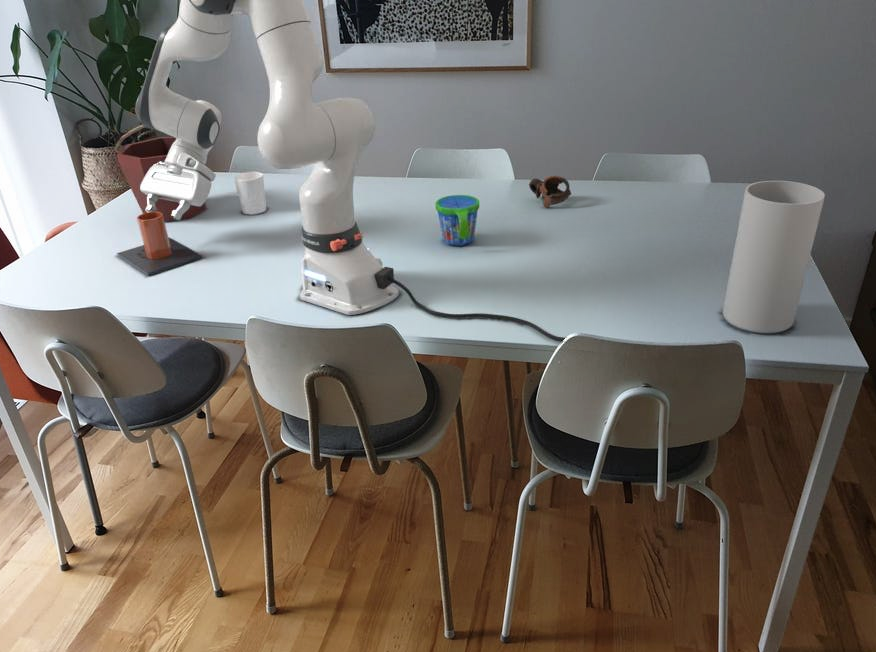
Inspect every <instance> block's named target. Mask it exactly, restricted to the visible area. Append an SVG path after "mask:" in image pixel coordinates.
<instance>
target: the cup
mask: <svg viewBox="0 0 876 652" xmlns="http://www.w3.org/2000/svg"><path fill="white" fill-rule="evenodd" d="M136 222H137V225H138V229H139V233H140V236H141V241H142V244H143V245H144V248H145V252H146V255H147V258H149V259H162V258H165V257H168V256H170V255H171V254H172V251H171V246H170V242H169V238H170V237H169V234H168V230H167V226H166V222H164V217H163V213H161V212H148V213H144V214H143V213H140V214H138V216H136ZM168 237H169V238H168Z"/></svg>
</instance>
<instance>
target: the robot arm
mask: <svg viewBox="0 0 876 652" xmlns="http://www.w3.org/2000/svg"><path fill="white" fill-rule="evenodd" d="M237 14H241V15H246V16H247V18H248V20H249V22H250V24H251V27H252V32H253V34H254V37H255V40H256V43H257V46H258V49H259V53H260V55H261V58H262V61H263V65H264V68H265V72H266V75H267V78H268V85H269V101H268V107H267V111H266V114H265V116H264V118H263V120H262V121H261V122H260V124H259V127H258V130H257V137H256V138H257V140H256V141H257V146H258V150H259V153H260V155H261V156H262V158H263V160H264V161H265V162H266V163H267V164H268V165H269V166H271V167H272V168H274V169H276V170H294V169H302V168H304V167H308V166H311V165H313V169H312V171H311V173H310V174H309V176H308V177H307V178H306V180H305V181H304V183H302V185H301V187H300V189H299V191H298V201H299V208H300V215H301V222H302V226H301V229H300V230H301V231H300V232H301V235H300V236H301V240H302V245H303V246H304V251H303V256H302V259H301V278H302V290H301V291H300V293H299V300H300V301H304V302H307V303H309V304H313V305H316V306H319V307H322V308H324V309H328V310H332V311H334V312H337V313H339V314H343V315H347V316H354V315H360V314H361V315H362V314H365V313H368V312H371V311H373V310H376V309H379V308H381V307H383V306H385V305H387V304H389V303H391V302H393V301H394V300H395V299H397V297H398V296H399V294H400V292H399V289H398V288H397V287H399V288H401V289H402V290H403V291H404V292H405V293H406V294H407V296H408V297H409V298H410V300H411V302H412V303H413V304H414V305H415V306H417V307H418V309H420V310H422V311H423V312H426V313H428V314H430V315H435V316H438V317H444V318H449V319H450V318H451V319H466V318H490V319H498V320H507V321H512V322H516V323H519V324H523V325H526V326H529V327H530V328H533V329H534V330H536V331H537V332H538V333H540V334H542V335H543V336H545V337H547V338H549V339H552V340H555V341H557V342H564V341H563V340H564V339H565V338H566V337H564V336H557V335H554V334H551V333H549V332H548V331H546V330H544V329H542V328H541V327H539V325H537V324H535V323H532V322H531V321H528V320H526V319H523V318H519V317H514V316H510V315H503V314H493V313H482V312H481V313H479V312H477V313H475V312H474V313H446V312H440V311H435V310H431V309H429V308H427V307H425V306H424V305H422V304H421V303H420V302H419V301H418V300H416V298H415V297H414V295H413V294H412V292H411V290H409V289H408V288H407V286H405V285H404V284H403V283H401V282H400V281H398V280H396V279H395V273H394V272H395V271H394V267H390V266H389V267H388V266H384V267H383V261H382V259H381V258H380V257H375V256H374V254H372V252H371V251H370V249H369V248H368V247H367V246H366V245H365V244H364V242H363V238H365V236H364V234H365V233H364V232H363V231H361V230H360V227H359V225H358V222H357V221H356V220H355V206H354V183H355V176H356V172H357V169H358V165H359V163H360V160H361V157H362V155H363V153H364V151H365V150H366V148H367V147H368V145H370V144H371V142H372V140H373V138H374V135H375V131H376V130H375V129H376V122H375V117H374V114H373V112H372V110H371V108H370V107H369V106H368V104H367V103H366V102H365V101H363V99H361V98H355V97H336V98H332V99H327V100H323V101H319V102H314V99H313V94H312V90H313V89H312V88H313V83H315V81H316V80H317V79H318V78H319V77H320V75H321V73H322V71H323V68H324V58H323V54H322V52H321V48H320V46H319V43H318V39H317V36H316V33H315V30H314V28H313V24H312V21H311V18H310V16H309V12H308V10H307V8H306V6H305V3H304V0H180V3H179V10H178V16H177V19H176V21H175V23H173V24H168V25H166V26H165V27H164V28H163V30H161V32H160V34H159V35H158V38H157V40H156V43H155V47H154V49H153V52H152V56H151V59H150V63H149V65H148V69H147V72H146V75H145V79H144V81H143V85H142V88H141V90H140V92H139V95H138V96H137V100H136V102H135V107H134V112H135V115H136V117H137V119H138V120H139V122H140V123H141V124H140V125H143V126H144V127H147V129H151V130H154V131H157V132H161V133H163V134H166V135H168V136H169V137H175V138H177V139H176V140H175V142H174V143H173V144H172V146H171V148H170V150H169V153H168V155H167V157H166V159H165V162H162V161H159V162H158V163H156V164H154V165H153V166H152V167H151V168H150V169H149V170H148V172H147V174H146V175H145V177H144V179H143V181H142V183H141V185H140V190H141V191H142V192H143V193H145V194H146V195H148V196H147V204H148V205H147V207H146V212H155V211H156V209H157V208H155V202H157V200H158V198H160V199H165V200H170V201H175V202H179V204H180V206H179V207H178V208H177V209H176V210H173V212H172V214H171V217H172V218H174V219H177V220H176V221H181V220H180V219H181V217H182V214H184V213H185V212H186V211H187V210H188V209H189V207H190V205H194V206H199V207H200V206H201V205H203V204H204V203H205V201H207V200H208V196H209V193H210V191H211V189H212V182H214V181H215V180H216V177H217V173H215V172H214V171H213V170H212V169H210V168H209V167H208V166H207V165H206V163H207V160H208V154H209V152H210V151H211V150H212V149H213V147H214V145H215V143H216V141H217V139H218V136H219V134H220V130H221V123H222V120H223V119H222V112H221V111H220V109H218V107H216V106H215V105H214V104H212V103H211V102H209V101H207V100H203V99H196V100H194V99H191V98H188V97H186V96H183V95H180V94H179V93H177V92H174V91H172V90H171V89H170V88H169V87H168V85H167V83H168V79H169V76H170V73H171V70H172V67H173V63H174V62H179V61H186V62H187V61H188V62H189V61H190V62H207V61H211V60H214V59H217V58H219V57H220V56H222V55H223V54H224V53H225V52H226V51H227V49H228V47H229V44H230V41H231V37H232V33H233V28H234V19H235V15H237ZM362 235H363V236H362ZM392 284H394V285H396V286H397V287H395V286H394V285H392Z"/></svg>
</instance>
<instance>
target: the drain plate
mask: <svg viewBox="0 0 876 652" xmlns="http://www.w3.org/2000/svg"><path fill="white" fill-rule="evenodd" d="M168 238H169V242H170V246H171V251H172V254H171V255H170V256H168V257H165V258H162V259H149V258H147V255H146V252H145V248H144V244H143V245H138V246H136V247H133V248H132V247H131V248H129V249H126V250H123V251H119V252H117V253H116V254H117V257H119V258H120V259H122V260H123V261H125V262H126V263H128V264H129V265H131V266H132V267H134V268H135V269H137V270H138V271H140V272H141V273H143V274H144V275H146V276H148V277H150V276H153V275H157V274H159V273H162V272H165V271H169V270H172V269H174V268H177V267H180V266H183V265H186V264H189V263H192V262H194V261H198V260H200V259H203V256H202V254H200V253H198V252H196V251H195V250H192V249H191V248H189V247H187V246H185V245H184V244H182V243H180V242H178V241H176V240H175V239H173V238H171V237H169V236H168Z"/></svg>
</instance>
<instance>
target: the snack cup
mask: <svg viewBox="0 0 876 652" xmlns="http://www.w3.org/2000/svg"><path fill="white" fill-rule="evenodd" d="M480 206H481V205H480V200H479V199H478V198H477V197H475V196H472V195H468V194H452V195H446V196H442V197H441V198H439V199H437V200H436V201H435V210H436V212H437V215H438V221H439V222H438V223H439V226H440V231H441V237H442V240H443V242H445V244H446V245H449V246H457V247H459V246H460V247H462V246H465V245H468V244H470V243H472V242H474V238H475V233H476V226H477V217H478V211H479V209H480Z"/></svg>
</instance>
